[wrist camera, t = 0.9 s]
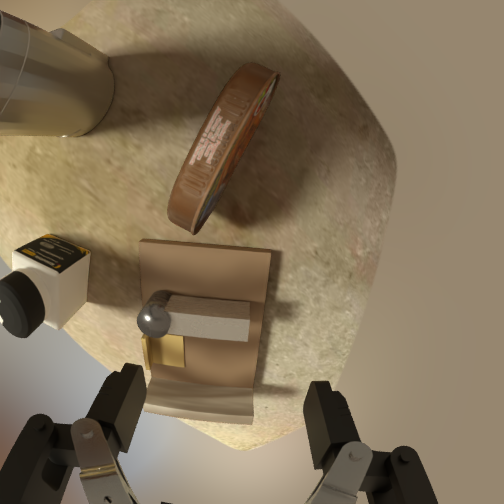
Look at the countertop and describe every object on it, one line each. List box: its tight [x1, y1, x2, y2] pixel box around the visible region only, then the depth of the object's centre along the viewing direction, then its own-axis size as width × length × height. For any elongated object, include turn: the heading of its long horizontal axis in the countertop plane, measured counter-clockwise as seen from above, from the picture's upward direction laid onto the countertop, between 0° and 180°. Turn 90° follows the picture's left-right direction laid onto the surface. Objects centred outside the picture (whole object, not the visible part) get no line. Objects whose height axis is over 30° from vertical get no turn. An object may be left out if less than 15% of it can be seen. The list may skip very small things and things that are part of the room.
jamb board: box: [139, 239, 271, 425], centre depth 28 cm, size 20×13×6 cm, turn 175°
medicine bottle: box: [0, 234, 91, 338], centre depth 23 cm, size 7×7×12 cm
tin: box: [167, 63, 280, 235], centre depth 21 cm, size 15×3×8 cm, turn 152°
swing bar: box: [137, 291, 250, 342], centre depth 26 cm, size 11×3×4 cm, turn 85°
